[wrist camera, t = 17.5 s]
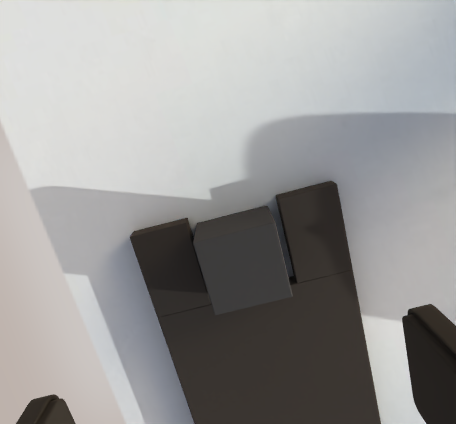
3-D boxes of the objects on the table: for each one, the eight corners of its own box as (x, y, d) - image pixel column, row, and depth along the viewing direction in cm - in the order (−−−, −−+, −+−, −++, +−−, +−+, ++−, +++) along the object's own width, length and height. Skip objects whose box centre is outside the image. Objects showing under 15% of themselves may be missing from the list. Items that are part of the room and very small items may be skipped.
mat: (238, 537, 34) (239, 552, 32) (133, 231, 26) (129, 237, 25) (392, 504, 33) (398, 519, 32) (331, 180, 25) (336, 183, 24)
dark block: (215, 286, 27) (214, 316, 23) (196, 222, 26) (192, 242, 22) (282, 270, 27) (293, 297, 23) (267, 204, 25) (275, 221, 22)
